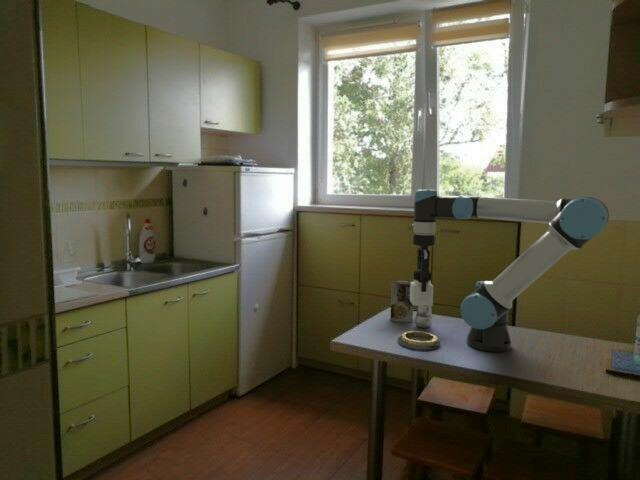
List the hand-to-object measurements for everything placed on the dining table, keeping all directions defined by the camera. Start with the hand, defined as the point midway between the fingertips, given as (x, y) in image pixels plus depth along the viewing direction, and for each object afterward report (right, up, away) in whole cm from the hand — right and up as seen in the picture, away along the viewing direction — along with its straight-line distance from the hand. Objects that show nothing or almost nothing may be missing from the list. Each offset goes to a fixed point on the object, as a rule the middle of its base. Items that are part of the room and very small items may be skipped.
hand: (421, 297), depth 175 cm
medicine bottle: (0, -2, 0) cm, 2 cm away
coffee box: (-2, -13, +31) cm, 34 cm away
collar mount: (0, -17, +2) cm, 17 cm away
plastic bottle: (+5, -15, +22) cm, 27 cm away
